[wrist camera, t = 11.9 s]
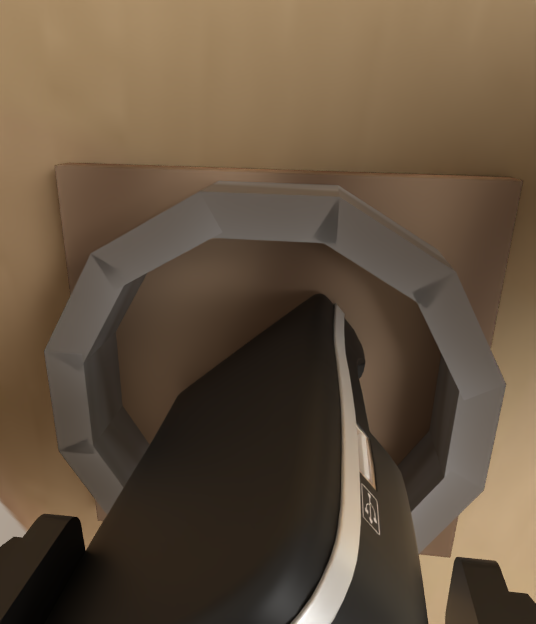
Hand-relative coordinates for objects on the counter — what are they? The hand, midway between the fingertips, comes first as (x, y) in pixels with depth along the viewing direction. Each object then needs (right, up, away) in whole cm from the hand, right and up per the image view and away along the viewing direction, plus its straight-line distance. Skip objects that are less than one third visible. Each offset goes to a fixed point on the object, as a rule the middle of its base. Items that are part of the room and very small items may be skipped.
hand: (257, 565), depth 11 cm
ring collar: (0, +3, +8) cm, 8 cm away
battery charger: (+1, +3, +7) cm, 8 cm away
